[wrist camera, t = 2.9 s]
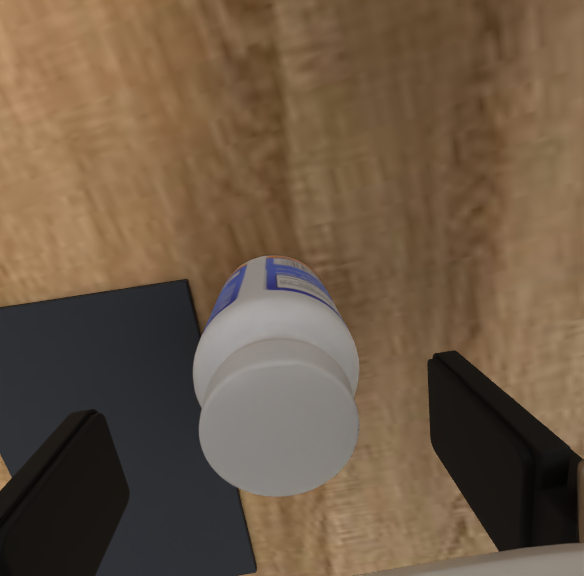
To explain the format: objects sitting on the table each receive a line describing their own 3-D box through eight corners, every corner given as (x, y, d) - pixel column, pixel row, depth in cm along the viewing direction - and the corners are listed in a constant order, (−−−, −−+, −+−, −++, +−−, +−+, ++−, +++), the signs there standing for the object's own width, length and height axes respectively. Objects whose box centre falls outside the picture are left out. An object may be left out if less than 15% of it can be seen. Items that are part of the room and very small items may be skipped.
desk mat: (-58, 316, 17) (-66, 319, 16) (187, 278, 17) (185, 280, 17) (75, 596, 23) (72, 603, 22) (256, 566, 23) (256, 573, 23)
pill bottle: (243, 365, 19) (217, 547, 9) (203, 273, 17) (123, 383, 8) (339, 332, 18) (411, 486, 9) (308, 236, 17) (355, 303, 8)
